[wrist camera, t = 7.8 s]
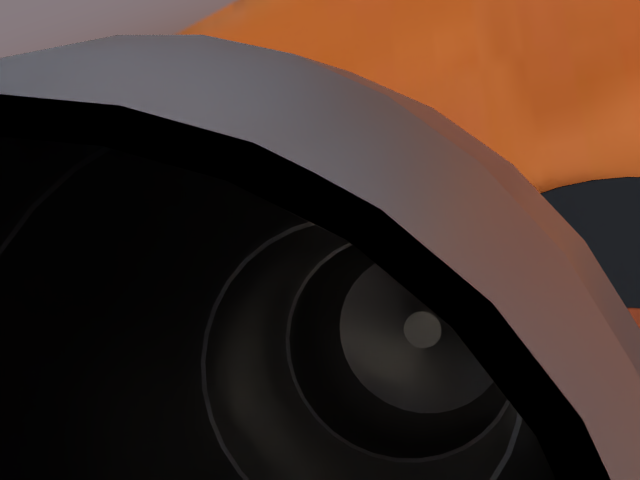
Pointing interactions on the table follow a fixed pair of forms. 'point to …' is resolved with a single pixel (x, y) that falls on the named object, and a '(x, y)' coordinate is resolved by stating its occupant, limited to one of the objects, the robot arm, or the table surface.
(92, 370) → the plastic bottle
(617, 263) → the ring
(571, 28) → the table surface
